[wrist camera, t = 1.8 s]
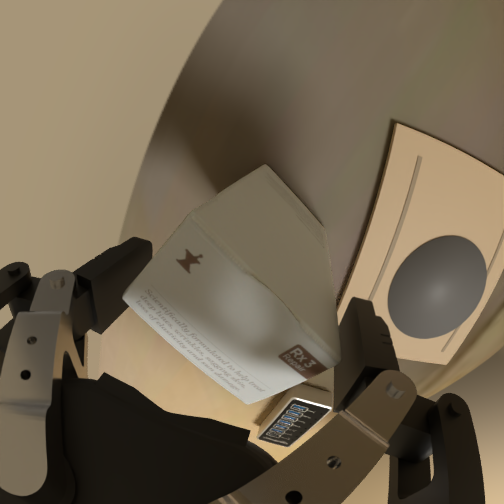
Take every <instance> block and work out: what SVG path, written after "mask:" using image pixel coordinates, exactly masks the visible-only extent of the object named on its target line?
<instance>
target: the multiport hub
mask: <svg viewBox="0 0 504 504" xmlns="http://www.w3.org/2000/svg"><path fill="white" fill-rule="evenodd" d="M332 401H333V394H332V393H331V392H328V391H324V390H321V389H317V388H314V387H310V386H307V385H304V384H301V383H300V384H297V385H295V386H293V387H291V388H290V389H289V390H288V391H287V393H286V394H285V395H284V396H283V398H282V399H281V400H280V402H279V403H278V404H277V405H276V407H275V408H274V409H273V410H272V412H271V413H270V414H269V415H268V416H267V418H266V419H265V420H264V421H263V422H262V424H261V425H260V427H259V431H258V434H257V439H259V440H263V441H266V442H269V443H273V444H277V445H280V446H284V447H290V446H291V445H293V444H294V443H295V442H296V441H298V440H299V439H300V438H301V437H302V436H303V435H305V434H306V433H307V432H308V431H309V430H310V429H312V428H313V427H314V426H315V425H316V424H317V423H318V422H319V421H320V420H322V419H323V418H324V417H325V416H326V415H327V414H328V413H329V412H330V411H331V410H332Z"/></svg>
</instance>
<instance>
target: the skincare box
mask: <svg viewBox="0 0 504 504" xmlns="http://www.w3.org/2000/svg"><path fill="white" fill-rule="evenodd" d="M122 298H123V300H124V301H125V302H126V303H127V304H128V305H129V306H130V307H131V308H132V309H133V310H134V311H135V312H136V313H137V314H138V315H139V316H140V317H141V318H142V319H143V320H144V321H145V322H147V323H148V324H149V325H150V326H151V327H152V328H153V329H154V330H155V331H156V332H157V333H158V334H159V335H161V336H162V337H163V338H164V339H165V340H166V341H167V342H168V343H169V344H171V345H172V346H173V347H174V348H175V349H176V350H178V351H179V352H180V353H181V354H182V355H184V356H185V357H186V358H187V359H188V360H189V361H191V362H192V363H193V364H194V365H195V366H197V367H198V368H199V369H200V370H202V371H203V372H204V373H205V374H207V375H208V376H209V377H211V378H212V379H213V380H214V381H216V382H217V383H218V384H220V385H221V386H222V387H224V388H225V389H226V390H228V391H229V392H230V393H232V394H233V395H235V396H236V397H237V398H239V399H240V400H241V401H243V402H244V403H245V404H251V403H254V402H257V401H260V400H262V399H265V398H268V397H270V396H273V395H275V394H277V393H280V392H282V391H284V390H286V389H288V388H291V387H293V386H295V385H297V384H300V383H302V382H304V381H306V380H308V379H310V378H312V377H314V376H316V375H318V374H320V373H322V372H324V371H325V370H328V369H330V368H332V367H334V366H336V365H338V364H339V363H340V361H341V347H340V338H339V326H338V316H337V308H336V299H335V292H334V284H333V277H332V270H331V263H330V256H329V250H328V244H327V238H326V232H325V228H324V227H323V226H322V225H321V224H320V222H319V221H318V220H317V219H316V218H315V217H314V216H313V214H312V213H311V212H310V211H309V210H308V209H307V208H306V206H305V205H304V204H303V203H302V202H301V201H300V200H299V199H298V197H297V196H296V195H295V194H294V193H293V192H292V191H291V190H290V189H289V188H288V187H287V185H286V184H285V183H284V182H283V181H282V180H281V179H280V178H279V177H278V176H277V175H276V174H275V173H274V171H273V170H272V169H271V168H270V167H269V166H268V165H266V164H264V165H262V166H261V167H259V168H258V169H256V170H254V171H253V172H251V173H249V174H248V175H246V176H244V177H243V178H241V179H239V180H238V181H236V182H235V183H233V184H232V185H230V186H229V187H227V188H226V189H224V190H223V191H221V192H220V193H219V194H217V195H216V196H215V197H214V198H212V199H211V200H210V201H208V202H206V203H204V204H203V205H201V206H199V207H197V208H195V209H194V210H192V211H191V212H190V213H189V214H188V215H187V216H186V218H185V219H184V220H183V222H182V223H181V224H180V225H179V226H178V228H177V229H176V230H175V231H174V232H173V234H172V235H171V236H170V237H169V239H168V240H167V241H166V242H165V243H164V245H163V246H162V247H161V248H160V249H159V251H158V252H157V253H156V254H155V256H154V257H153V258H152V259H151V260H150V262H149V263H148V264H147V265H146V267H145V268H144V269H143V271H142V272H141V273H140V274H139V275H138V276H137V278H136V279H135V280H134V281H133V282H132V283H131V284H130V286H129V287H128V288H127V289H126V290H125V292H124V293H123V296H122Z"/></svg>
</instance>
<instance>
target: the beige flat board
mask: <svg viewBox="0 0 504 504" xmlns="http://www.w3.org/2000/svg"><path fill="white" fill-rule="evenodd" d="M503 269H504V176H503V175H502V174H500V173H498V172H497V171H495V170H494V169H492V168H490V167H488V166H487V165H485V164H483V163H482V162H480V161H478V160H476V159H474V158H473V157H471V156H469V155H467V154H465V153H463V152H461V151H459V150H457V149H455V148H453V147H451V146H449V145H447V144H445V143H443V142H441V141H439V140H437V139H434V138H432V137H430V136H428V135H425V134H423V133H421V132H418V131H416V130H413V129H411V128H408V127H406V126H403V125H401V124H398V123H396V124H395V125H394V129H393V134H392V139H391V143H390V147H389V152H388V156H387V160H386V164H385V168H384V172H383V175H382V179H381V183H380V186H379V190H378V193H377V197H376V200H375V204H374V207H373V210H372V213H371V217H370V220H369V223H368V226H367V229H366V232H365V235H364V238H363V241H362V244H361V247H360V250H359V252H358V255H357V258H356V261H355V264H354V266H353V269H352V272H351V274H350V277H349V279H348V282H347V285H346V287H345V290H344V292H343V295H342V297H341V300H340V302H339V304H338V307H337V316H338V326H339V324H340V322H341V320H342V318H343V315H344V313H345V311H346V309H347V306H348V304H349V302H350V300H351V298H352V297H358V298H362V299H366V300H370V301H372V303H373V306H374V310H375V314H376V316H380V317H382V319H383V320H384V321H385V323H386V324H387V325H388V328H389V331H390V335H391V337H390V338H392V342H393V346H394V349H395V353H396V357H397V358H402V359H408V360H415V361H422V362H429V363H436V364H444V365H447V363H448V362H449V360H450V359H451V358H452V356H453V355H454V354H455V352H456V351H457V349H458V348H459V347H460V345H461V344H462V342H463V341H464V339H465V338H466V336H467V335H468V333H469V331H470V330H471V328H472V327H473V325H474V323H475V322H476V320H477V319H478V317H479V315H480V313H481V312H482V310H483V308H484V306H485V305H486V303H487V301H488V299H489V297H490V295H491V293H492V291H493V290H494V288H495V286H496V284H497V282H498V279H499V277H500V275H501V273H502V271H503Z"/></svg>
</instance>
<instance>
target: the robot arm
mask: <svg viewBox="0 0 504 504" xmlns="http://www.w3.org/2000/svg"><path fill="white" fill-rule="evenodd" d="M151 259H152V243H151V242H150V241H148V240H144V239H141V238H138V237H132V238H130V239H129V240H127V241H125V242H124V243H122V244H121V245H118V246H115V247H112V248H109V249H108V250H106V251H104V252H103V253H101V255H98V256H97V257H95V259H92V260H90V261H89V262H87V263H86V264H85V265H83V266H81V267H80V268H78V269H77V270H75V271H74V272H70V271H67V270H54V271H51V272H49V273H47V274H45V275H44V276H43V277H42V278H36V277H31V273H30V269H29V266H28V264H26V263H24V262H15V263H11V264H9V265H7V266H5V267H4V268H2V269H1V270H0V309H2V308H3V307H4V306H5V305H6V304H9V307H10V310H11V313H12V316H13V319H12V320H10V321H9V322H8V323H7V324H6V325H5V326H4V327H3V328H2V329H0V504H341V503H342V502H343V501H344V500H345V499H346V498H347V497H348V496H349V495H350V494H351V493H352V492H353V491H354V489H355V488H356V487H357V486H358V485H359V484H360V483H361V482H362V480H363V479H364V478H365V477H366V476H367V474H368V473H369V472H370V471H371V470H372V469H373V467H374V466H375V465H376V464H377V462H378V461H379V460H380V458H381V457H382V456H383V454H384V453H385V454H388V455H390V471H389V493H388V504H485V492H484V482H483V474H482V467H481V460H480V454H479V449H478V444H477V439H476V434H475V430H474V426H473V422H472V418H471V414H470V410H469V408H468V405H467V404H466V402H465V401H464V400H463V399H462V398H461V397H459V396H458V395H456V394H452V393H446V394H443V395H442V396H441V397H440V398H439V399H438V400H437V401H436V402H434V401H431V400H429V399H426V398H424V397H421V396H419V395H417V390H416V387H415V385H414V383H413V381H412V380H411V379H410V378H409V377H408V376H407V375H405V374H403V373H402V372H400V370H399V365H398V361H397V357H396V353H395V349H394V346H393V342H392V338H390V337H391V335H390V331H389V328H388V325H387V324H386V323H385V321H384V320H383V319H382V317H380V316H376V314H375V310H374V306H373V303H372V301H370V300H366V299H362V298H358V297H352V298H351V300H350V302H349V304H348V306H347V309H346V311H345V313H344V315H343V318H342V320H341V322H340V324H339V338H340V347H341V361H340V363H339V364H338V365H336V366H334V408H333V412H336V413H338V414H337V415H336V416H335V417H334V418H333V419H332V420H330V421H329V422H328V423H327V424H326V425H325V426H324V427H323V428H322V429H320V430H319V431H318V432H317V433H316V434H315V435H313V436H312V437H311V438H310V439H309V440H307V441H306V442H305V443H304V444H302V445H301V446H300V447H299V448H297V449H296V450H295V451H293V452H292V453H291V454H290V455H288V456H287V457H286V458H284V459H283V460H282V461H280V462H279V463H278V462H277V461H276V460H275V459H274V458H273V457H272V456H271V455H269V454H268V453H267V452H266V451H264V450H263V449H262V448H260V447H258V446H257V445H255V444H254V443H252V442H250V441H248V437H249V434H250V431H251V430H247V429H243V428H239V427H236V426H232V425H229V424H226V423H223V422H219V421H216V420H213V419H210V418H201V417H194V416H187V415H181V414H175V413H170V412H167V411H164V410H163V409H161V408H160V407H159V406H157V405H156V404H155V403H153V402H152V401H151V400H149V399H148V398H147V397H146V396H144V395H143V394H142V393H140V392H139V391H138V390H137V389H135V388H134V387H132V386H130V385H128V384H126V383H124V382H122V381H120V380H118V379H116V378H114V377H112V376H110V375H108V374H107V373H105V372H104V373H103V374H102V376H101V377H100V378H99V379H98V380H93V379H88V373H87V372H88V370H87V356H88V336H87V331H88V330H89V329H92V330H93V331H95V332H97V333H99V334H102V333H103V332H104V331H105V330H106V329H107V328H108V327H109V326H110V325H111V324H112V323H113V322H114V321H115V320H116V319H117V318H118V317H119V316H120V315H121V314H122V313H123V312H124V311H125V310H126V309H127V308H128V307H129V305H128V304H127V303H126V302H125V301H124V300H123V298H122V296H123V293H124V292H125V290H126V289H127V288H128V287H129V286H130V284H131V283H132V282H133V281H134V280H135V279H136V278H137V276H138V275H139V274H140V273H141V272H142V271H143V269H144V268H145V267H146V265H147V264H148V263H149V262H150V260H151ZM432 454H433V463H434V476H433V479H432V481H431V474H430V459H429V456H430V455H432Z"/></svg>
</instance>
